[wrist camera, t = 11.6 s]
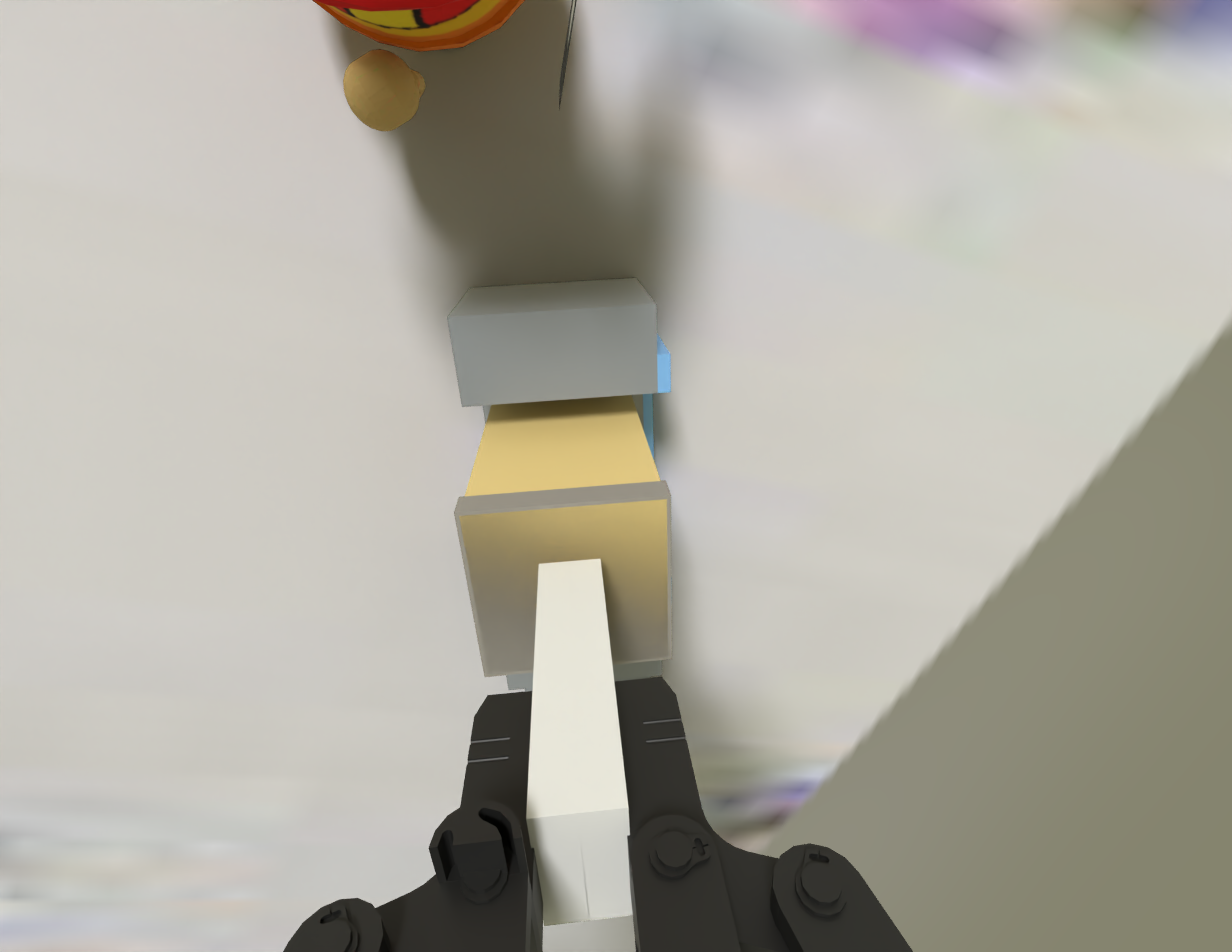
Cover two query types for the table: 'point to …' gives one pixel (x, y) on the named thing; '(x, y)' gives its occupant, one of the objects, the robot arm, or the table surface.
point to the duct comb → (561, 360)
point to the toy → (411, 48)
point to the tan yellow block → (566, 525)
